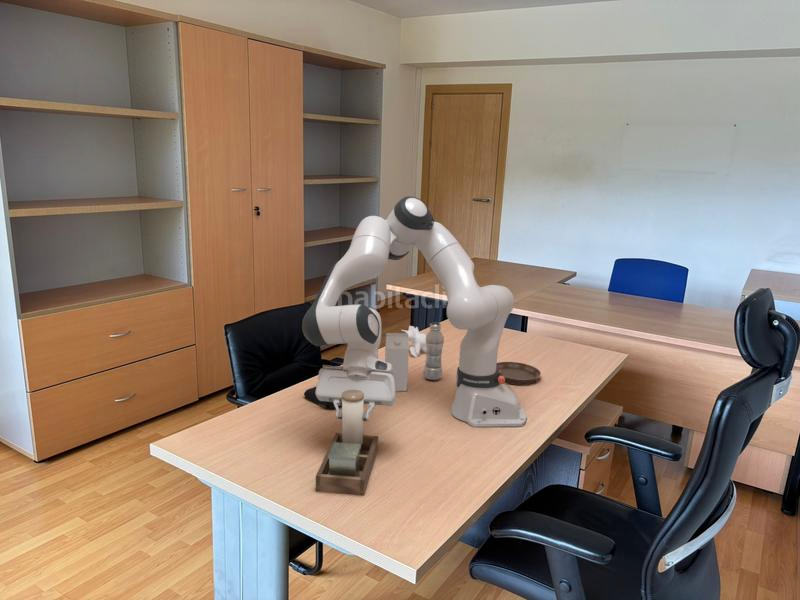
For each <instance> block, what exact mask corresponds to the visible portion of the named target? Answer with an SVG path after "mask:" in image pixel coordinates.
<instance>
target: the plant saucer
mask: <svg viewBox="0 0 800 600" xmlns="http://www.w3.org/2000/svg"><path fill="white" fill-rule="evenodd" d="M496 369H497V370H498V371H499V370H500V371H501V373H502V374H503V377H504V378H505V384H510V385H518V386H519V385H521V386H523V385H528V384H529V385H530V384H532V383H534V382H536V380H538V379H539V378H540V377H541V371H540V369H538V368H537V367H535V366H533V365H530V364H527V363H522V362H514V361H500V362H497V365H496Z"/></svg>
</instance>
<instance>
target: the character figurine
mask: <svg viewBox="0 0 800 600" xmlns="http://www.w3.org/2000/svg"><path fill="white" fill-rule="evenodd" d="M401 331H402V332H404V333H408V342H411V344H412V346H410V347H409V352H410V354H411V355H412V356H413V357H414V358H417V357H418V356H419V355H420V352H421V351H423V353H425V354H427V353H426V336H427V334H426V333H424V332H421V333H420V331H419V327H418V326H416V327H415V326H413V325H409V326H408V330H404V329H401Z"/></svg>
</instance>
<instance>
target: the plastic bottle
mask: <svg viewBox="0 0 800 600" xmlns="http://www.w3.org/2000/svg"><path fill="white" fill-rule="evenodd" d="M441 326H442V325H441V323H440V322H431V323H429V330H430V331H429V332H428V333H427V334H426V335H427V336H426V353H425V354H426V358H425V365H424V368H423V376H424V378H425V379H426V380H429V381H439V380H440V379H441V377H443V376H442V375H443V366H442V365H443V364H442V363H443V362H442V355H443V347H444V342H445V338H444V335H443V333H442V332H441V329H442V328H441Z"/></svg>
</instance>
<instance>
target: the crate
mask: <svg viewBox="0 0 800 600" xmlns="http://www.w3.org/2000/svg"><path fill="white" fill-rule="evenodd" d="M334 442H340V443H342V432H336V433H335V435H334V436H333V439H332V440H331V442H330V445H329V447H328V450H327V451H326V454H325V455H324V458H323V460H322V462H321V464H320V466H319V468H318V471H317V472H316V474H315V492H319V493H329V494H330V493H331V494H340V495H341V494H342V495H351V496H352V495H353V496H365V494H366V491H367V487H368V484H369V480H370V476H371V474H372V471H373V467H374V463H375V461H376V457H377V455H378V454H377V453H378V450H379V436H378V435H368V434H367V435H366V434H363V443H362V445H361V449H360V475H359V477H349V476H338V475H329V459H328V455H329V453H330V451H331V448H332V446H333V444H334Z"/></svg>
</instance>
